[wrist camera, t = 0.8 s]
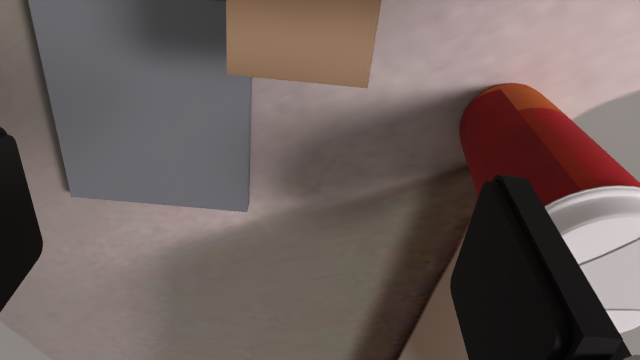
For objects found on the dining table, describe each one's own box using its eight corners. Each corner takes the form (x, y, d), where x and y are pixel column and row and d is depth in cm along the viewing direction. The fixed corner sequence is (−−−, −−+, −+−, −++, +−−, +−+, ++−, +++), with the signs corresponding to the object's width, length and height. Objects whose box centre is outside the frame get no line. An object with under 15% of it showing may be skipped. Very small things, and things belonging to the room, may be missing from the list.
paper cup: (454, 187, 34) (517, 361, 23) (430, 88, 30) (492, 236, 19) (573, 156, 33) (707, 325, 21) (564, 47, 29) (723, 181, 17)
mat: (33, -23, 27) (23, -19, 26) (253, 0, 28) (250, 4, 27) (77, 188, 35) (71, 196, 34) (249, 203, 35) (247, 211, 35)
